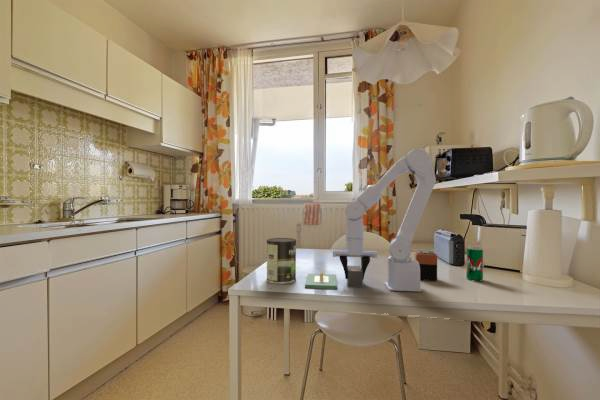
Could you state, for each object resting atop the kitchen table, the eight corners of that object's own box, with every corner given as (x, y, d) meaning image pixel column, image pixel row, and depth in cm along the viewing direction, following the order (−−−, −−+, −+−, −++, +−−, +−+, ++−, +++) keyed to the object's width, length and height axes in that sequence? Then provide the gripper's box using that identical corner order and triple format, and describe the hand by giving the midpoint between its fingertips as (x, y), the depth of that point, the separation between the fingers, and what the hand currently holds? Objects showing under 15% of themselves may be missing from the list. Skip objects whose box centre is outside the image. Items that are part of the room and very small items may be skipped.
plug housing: (360, 280, 100) (360, 265, 100) (362, 287, 92) (362, 271, 92) (346, 279, 100) (346, 265, 100) (348, 286, 92) (348, 270, 92)
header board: (335, 277, 104) (335, 267, 104) (336, 289, 90) (336, 277, 90) (308, 276, 105) (308, 266, 105) (305, 287, 91) (305, 276, 91)
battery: (437, 281, 99) (437, 252, 99) (416, 279, 101) (416, 251, 101) (435, 278, 104) (435, 250, 104) (414, 276, 105) (415, 249, 105)
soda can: (482, 278, 103) (482, 245, 103) (484, 282, 98) (484, 247, 98) (465, 277, 105) (466, 244, 105) (467, 280, 100) (467, 246, 101)
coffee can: (299, 277, 103) (299, 238, 103) (291, 285, 93) (291, 242, 93) (272, 275, 106) (272, 237, 106) (261, 282, 96) (261, 240, 96)
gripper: (374, 237, 99) (374, 276, 99) (332, 236, 101) (332, 274, 101) (378, 239, 92) (378, 281, 92) (332, 238, 94) (332, 280, 94)
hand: (354, 278), depth 96 cm, fingers closed on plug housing, 5 cm apart
